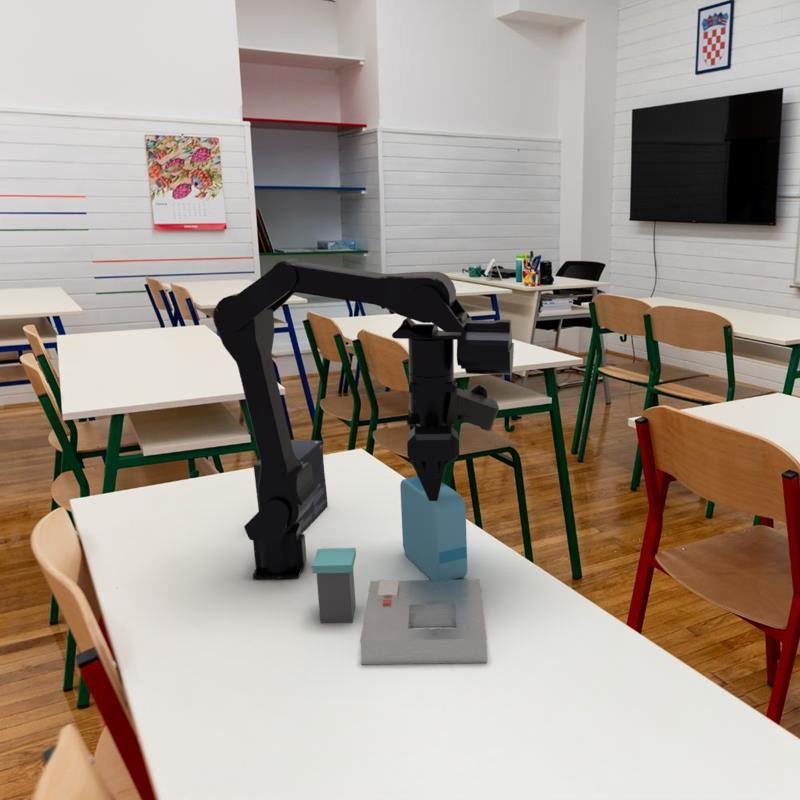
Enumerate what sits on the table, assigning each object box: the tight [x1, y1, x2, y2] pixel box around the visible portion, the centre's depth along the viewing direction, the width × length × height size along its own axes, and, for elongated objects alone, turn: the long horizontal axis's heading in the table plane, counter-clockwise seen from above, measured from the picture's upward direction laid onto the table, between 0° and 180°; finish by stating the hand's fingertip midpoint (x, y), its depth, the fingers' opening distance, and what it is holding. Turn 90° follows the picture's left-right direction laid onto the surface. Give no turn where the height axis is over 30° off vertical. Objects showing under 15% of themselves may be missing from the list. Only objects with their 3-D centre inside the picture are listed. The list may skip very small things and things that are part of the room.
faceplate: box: [359, 578, 488, 665], centre depth 93 cm, size 14×14×4 cm
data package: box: [399, 476, 468, 580], centre depth 108 cm, size 12×4×12 cm, turn 23°
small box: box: [252, 439, 329, 534], centre depth 127 cm, size 13×7×12 cm, turn 164°
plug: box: [311, 547, 357, 624], centre depth 97 cm, size 5×5×8 cm
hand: (432, 487), depth 103 cm, fingers open, 9 cm apart
